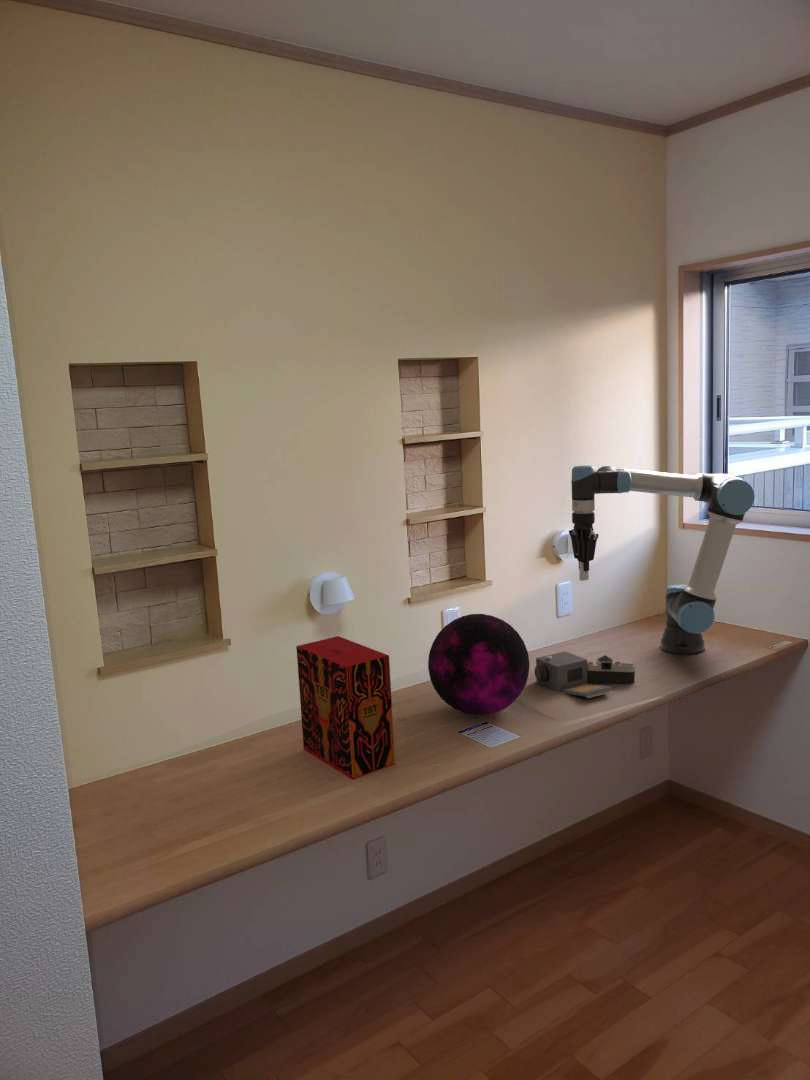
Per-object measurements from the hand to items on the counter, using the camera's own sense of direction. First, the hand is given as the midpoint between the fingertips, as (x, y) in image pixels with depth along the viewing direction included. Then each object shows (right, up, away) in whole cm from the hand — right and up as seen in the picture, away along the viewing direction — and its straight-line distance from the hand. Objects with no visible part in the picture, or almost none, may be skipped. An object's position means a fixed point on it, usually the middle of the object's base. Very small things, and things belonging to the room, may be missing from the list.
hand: (584, 579), depth 302 cm
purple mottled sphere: (-39, -38, -36) cm, 65 cm away
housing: (-10, -33, -17) cm, 39 cm away
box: (-77, -45, -63) cm, 109 cm away
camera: (+5, -34, -16) cm, 38 cm away
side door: (-8, -33, -22) cm, 41 cm away
